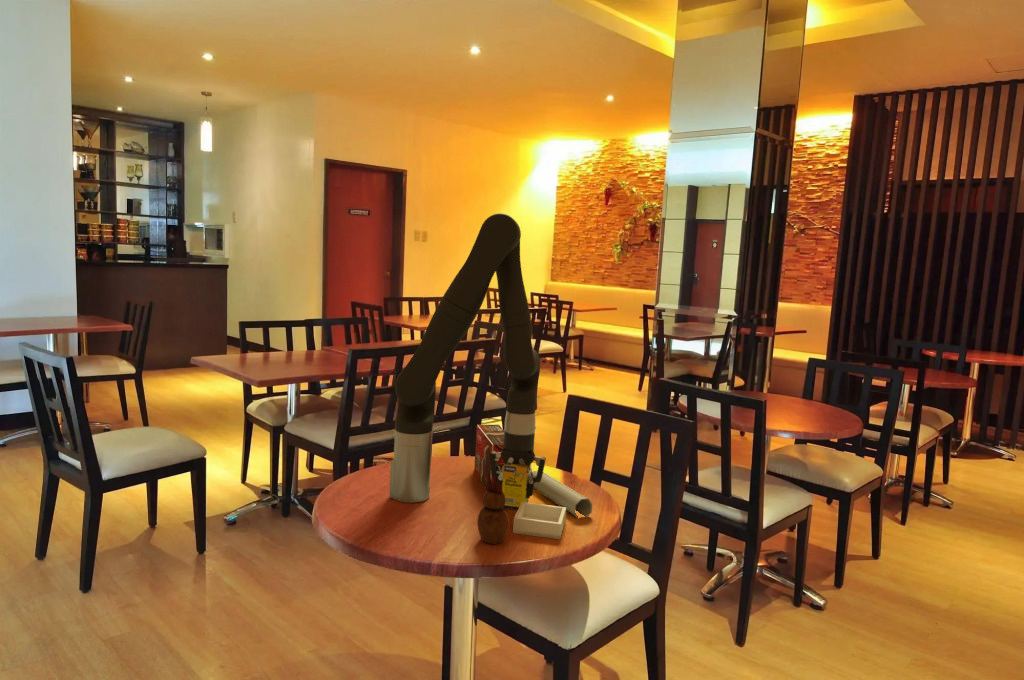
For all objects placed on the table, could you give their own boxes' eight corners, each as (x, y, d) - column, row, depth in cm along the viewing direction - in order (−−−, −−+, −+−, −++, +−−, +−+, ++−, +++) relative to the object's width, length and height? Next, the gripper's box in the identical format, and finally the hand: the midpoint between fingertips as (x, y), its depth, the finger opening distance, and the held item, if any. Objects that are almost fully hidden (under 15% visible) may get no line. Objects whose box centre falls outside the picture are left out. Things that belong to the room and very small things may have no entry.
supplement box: (524, 511, 169) (527, 467, 167) (500, 508, 170) (502, 465, 168) (528, 503, 174) (531, 461, 173) (505, 500, 176) (508, 458, 174)
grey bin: (512, 533, 155) (513, 518, 155) (521, 515, 166) (522, 501, 165) (560, 539, 153) (561, 524, 153) (565, 521, 164) (566, 507, 163)
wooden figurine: (472, 537, 151) (475, 471, 150) (494, 532, 155) (498, 467, 153) (489, 549, 146) (493, 480, 144) (511, 544, 149) (515, 476, 147)
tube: (522, 472, 187) (572, 503, 165) (539, 464, 189) (590, 494, 167) (526, 489, 188) (576, 523, 166) (543, 481, 190) (594, 513, 168)
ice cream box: (474, 470, 198) (476, 424, 196) (496, 469, 200) (498, 424, 198) (489, 494, 179) (492, 444, 177) (513, 494, 180) (516, 444, 179)
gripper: (487, 430, 167) (483, 497, 169) (546, 436, 165) (541, 504, 167) (494, 422, 175) (490, 487, 177) (550, 428, 172) (546, 494, 174)
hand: (515, 495), depth 172 cm, fingers closed on supplement box, 6 cm apart
